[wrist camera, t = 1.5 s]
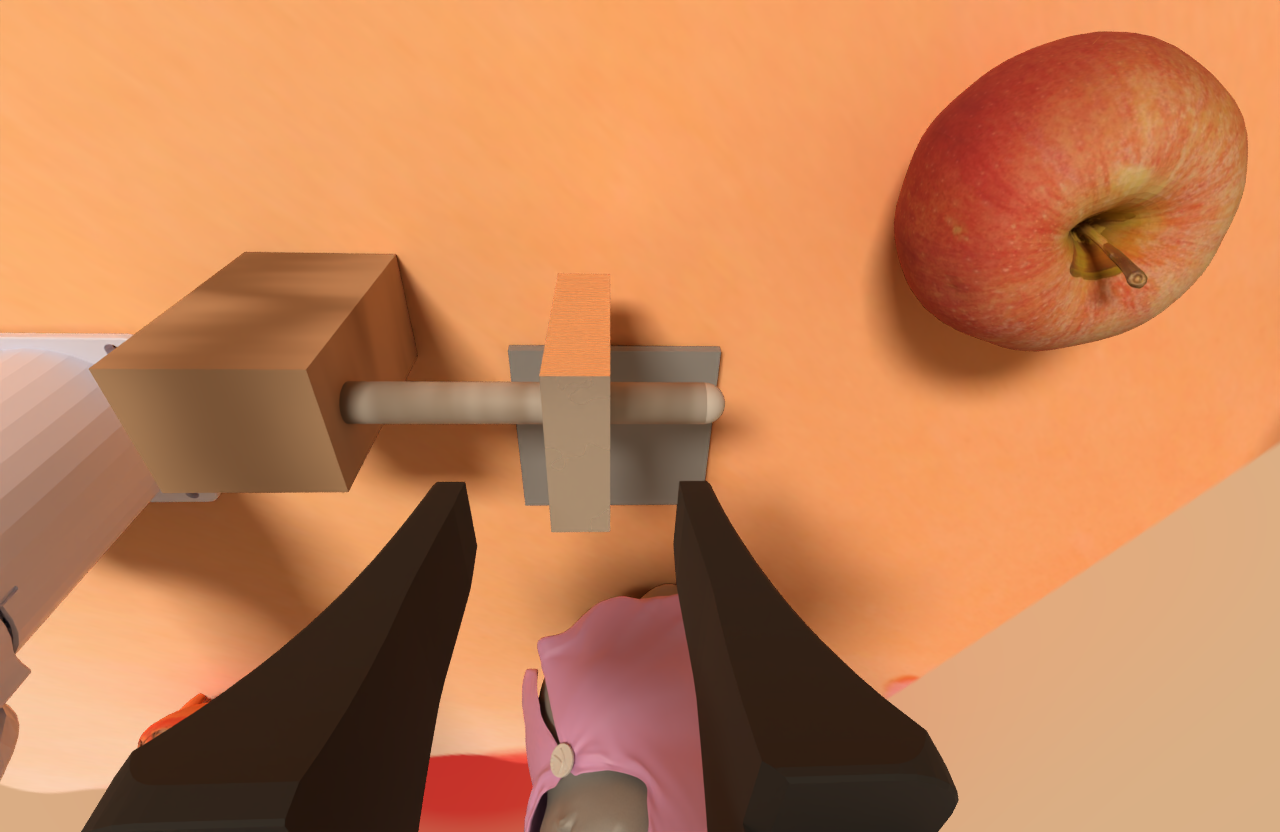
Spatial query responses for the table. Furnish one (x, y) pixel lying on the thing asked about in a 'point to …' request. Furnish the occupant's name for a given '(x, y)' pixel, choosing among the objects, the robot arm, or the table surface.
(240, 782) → the robot arm
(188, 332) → the stand
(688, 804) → the toy character
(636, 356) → the mat
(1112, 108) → the apple
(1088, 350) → the table surface
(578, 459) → the link
